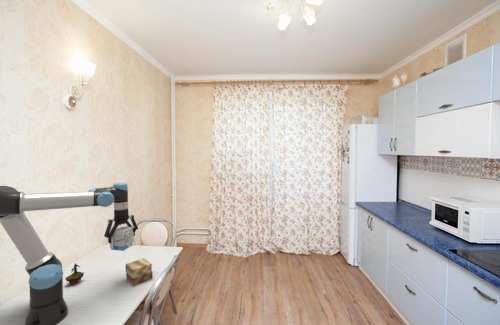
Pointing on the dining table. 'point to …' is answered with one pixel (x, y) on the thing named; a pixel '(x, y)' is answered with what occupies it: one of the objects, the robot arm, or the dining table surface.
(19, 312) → the dining table surface
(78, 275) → the figurine
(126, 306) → the dining table surface
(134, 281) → the slab bottom
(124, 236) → the ink box
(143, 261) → the slab top
